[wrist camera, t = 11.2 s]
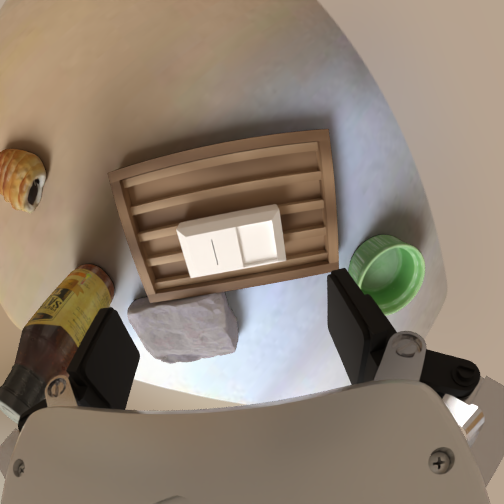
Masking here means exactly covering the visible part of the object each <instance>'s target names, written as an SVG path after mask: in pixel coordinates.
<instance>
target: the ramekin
mask: <svg viewBox="0 0 504 504" xmlns="http://www.w3.org/2000/svg"><path fill="white" fill-rule="evenodd" d="M348 273H349V274H350V275H351V277H352V278H353V279H354V281H355V282H356V284H357V285H358V286H359V288H360V289H361V290H362V292H363V293H364V295H365V294H369V295H370V296H371V297H372V298H373V299H374V301H375V302H376V303H377V305H378V306H379V308H380V309H381V310H382V312H383V313H384V315H385V316H386V315H390V314H393V313H395V312H397V311H399V310H401V309H402V308H404V307H405V306H406V305H407V304H408V303H409V302H410V301H411V300H412V299H413V298H414V297H415V295H416V294H417V292H418V291H419V289H420V287H421V285H422V282H423V279H424V275H425V262H424V258H423V256H422V254H421V252H420V251H419V250H418V249H417V248H416V247H414V246H412V245H410V244H407V243H404V242H402V241H401V240H399V239H397V238H396V237H393V236H391V235H378V236H374V237H372V238H370V239H368V240H367V241H365V242H364V243H363V244H362V245H361V246H360V247H359V248H358V249H357V250H356V252H355V253H354V255H353V257H352V259H351V261H350V265H349V271H348Z"/></svg>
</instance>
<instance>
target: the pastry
mask: <svg viewBox="0 0 504 504" xmlns="http://www.w3.org/2000/svg"><path fill="white" fill-rule="evenodd" d="M45 179H46V171H45V168H44V166H43V163H42V161H41V160H40V158H39V157H38V156H36V155H35V154H34V153H30V152H26V151H24V150H18V149H5V150H3V151H1V152H0V194H1V195H3V196H4V199H5V201H6V202H11V205H12V207H13V208H14V209H16V210H23V211H25V212H28V213H32V212H34V211H35V209H36V207H37V205H38V203H39V202H40V199H41V194H42V186H43V185H44V182H45Z"/></svg>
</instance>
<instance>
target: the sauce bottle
mask: <svg viewBox="0 0 504 504" xmlns="http://www.w3.org/2000/svg"><path fill="white" fill-rule="evenodd" d="M113 297H114V286H113V284H112V281H111V279H110V278H109V276H108V275H107V274H106V273H105V272H104V271H103V270H102V269H101V268H100V267H98V266H95V265H92V264H86V265H82V266H79V267H78V268H76V269H75V270H74V271H72V272H71V273H70V274H69V275H68V276H67V277H66V278H65V279H64V280H63V282H62V283H61V284H60V285H59V286H58V287H57V288H56V289H55V290H54V292H52V294H51V295H50V296H49V297H48V298H47V300H46V301H45V302H44V303H43V304H42V306H41V307H40V308H39V309H38V310H37V312H36V313H35V314H34V315H33V317H32V318H31V319H30V320H29V322H28V323H27V324H26V326H25V327H24V328H23V330H22V335H21V338H20V343H19V347H18V351H17V356H16V360H15V364H14V366H13V367H12V370H11V372H10V374H9V375H8V377H7V378H6V380H5V382H4V384H3V385H2V386H1V387H0V409H1V410H2V412H3V413H4V414H6V415H7V416H8V417H9V418H10V419H12V420H13V421H14V422H16V423H17V424H18V421H19V418H20V416H21V414H23V413H24V412H25V411H27V410H28V409H30V408H31V407H33V406H34V405H36V404H38V403H39V402H41V401H42V400H44V399H45V398H46V397H45V388H46V386H47V384H48V382H49V381H50V380H51V379H53V378H54V377H56V376H59V375H63V376H66V377H67V378H68V377H69V374H68V373H67V371H66V370H67V368H68V366H69V364H70V362H71V360H72V358H73V356H74V354H75V352H76V350H77V349H78V347H79V345H80V343H81V341H82V339H83V337H84V336H85V334H86V332H87V330H88V328H89V327H90V325H91V323H92V321H93V320H94V318H95V316H96V314H97V313H98V311H99V310H100V309H101V308H108V307H110V303H111V302H112V299H113Z"/></svg>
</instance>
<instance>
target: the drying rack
mask: <svg viewBox="0 0 504 504" xmlns="http://www.w3.org/2000/svg"><path fill="white" fill-rule="evenodd" d="M108 177H109V181H110V185H111V188H112V192H113V196H114V200H115V203H116V207H117V210H118V214H119V217H120V220H121V223H122V227H123V230H124V233H125V236H126V239H127V242H128V245H129V248H130V251H131V254H132V257H133V260H134V262H135V265H136V268H137V271H138V273H139V276H140V279H141V281H142V284H143V286H144V289H145V291H146V294H147V296H148V299H149V301H150V303H153V302H160V301H167V300H174V299H181V298H187V297H194V296H200V295H207V294H213V293H219V292H225V291H231V290H237V289H243V288H249V287H254V286H260V285H266V284H271V283H277V282H282V281H287V280H293V279H298V278H303V277H308V276H313V275H318V274H323V273H328V272H331V271H332V270H337V269H339V255H338V227H337V210H336V195H335V183H334V172H333V162H332V153H331V145H330V137H329V129H318V130H307V131H297V132H288V133H280V134H272V135H265V136H258V137H252V138H245V139H240V140H234V141H228V142H223V143H218V144H213V145H208V146H203V147H199V148H194V149H190V150H186V151H181V152H177V153H173V154H169V155H166V156H162V157H158V158H154V159H151V160H147V161H144V162H140V163H137V164H134V165H130V166H127V167H124V168H121V169H118V170H115V171H112V172H109V173H108ZM273 204H276V205H277V206H278V208H279V211H280V218H281V225H282V232H283V239H284V246H285V254H286V261H282V262H277V263H272V264H266V265H261V266H256V267H250V268H245V269H239V270H234V271H228V272H223V273H217V274H212V275H206V276H201V277H195V278H191V277H190V274H189V271H188V268H187V265H186V261H185V258H184V255H183V251H182V248H181V244H180V241H179V238H178V234H177V231H176V229H177V227H178V225H179V223H181V222H186V221H190V220H195V219H200V218H205V217H210V216H215V215H220V214H225V213H230V212H235V211H240V210H245V209H251V208H256V207H262V206H267V205H273Z"/></svg>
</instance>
